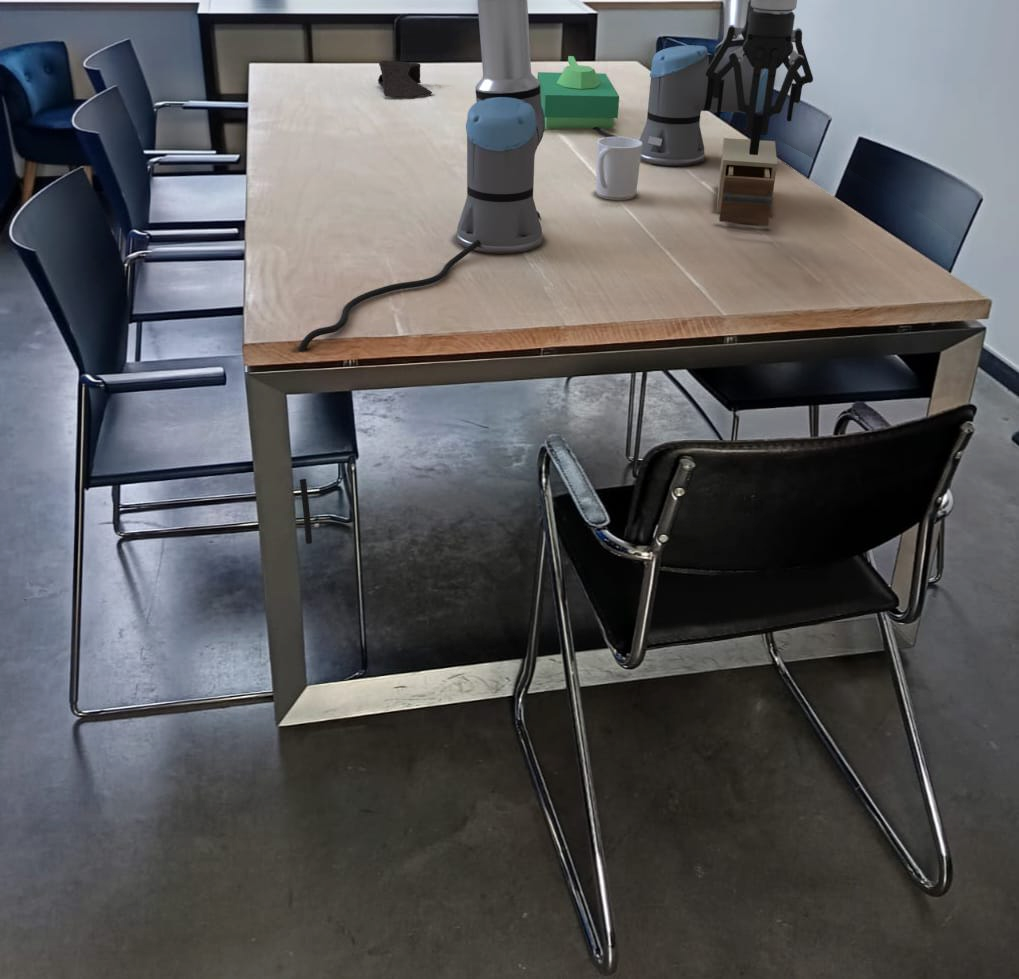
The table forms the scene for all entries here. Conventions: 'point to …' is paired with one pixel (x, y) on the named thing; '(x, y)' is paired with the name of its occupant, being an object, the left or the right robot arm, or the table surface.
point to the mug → (617, 167)
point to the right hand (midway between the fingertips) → (753, 117)
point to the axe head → (401, 79)
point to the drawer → (747, 195)
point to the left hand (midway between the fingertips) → (753, 152)
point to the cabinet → (745, 160)
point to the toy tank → (578, 98)
